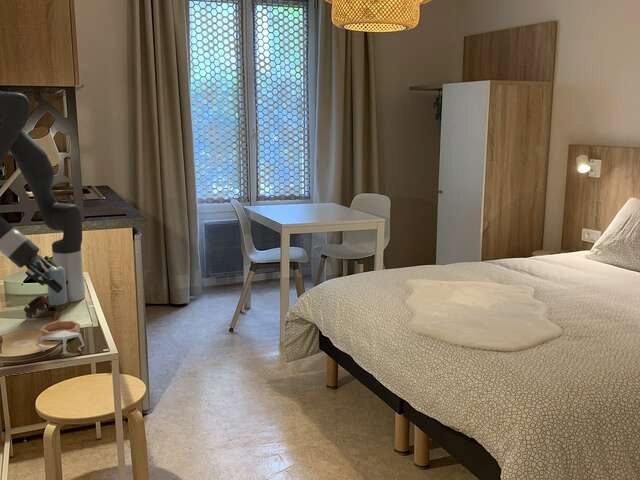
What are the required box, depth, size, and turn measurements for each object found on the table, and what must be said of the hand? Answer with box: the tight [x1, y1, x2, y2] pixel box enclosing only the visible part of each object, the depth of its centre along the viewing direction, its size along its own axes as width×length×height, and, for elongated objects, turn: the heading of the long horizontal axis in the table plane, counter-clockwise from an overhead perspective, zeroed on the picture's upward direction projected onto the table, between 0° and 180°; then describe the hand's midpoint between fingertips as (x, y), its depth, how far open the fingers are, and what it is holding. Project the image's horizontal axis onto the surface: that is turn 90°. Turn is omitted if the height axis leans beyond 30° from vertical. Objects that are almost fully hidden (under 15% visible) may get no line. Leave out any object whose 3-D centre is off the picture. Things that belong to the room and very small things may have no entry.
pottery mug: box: [23, 295, 61, 321], centre depth 207 cm, size 12×10×8 cm
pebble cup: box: [46, 266, 68, 306], centre depth 189 cm, size 5×5×11 cm
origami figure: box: [35, 330, 85, 355], centre depth 181 cm, size 12×8×5 cm
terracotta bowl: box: [40, 320, 81, 340], centre depth 192 cm, size 10×10×2 cm
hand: (63, 287), depth 189 cm, fingers closed on pebble cup, 5 cm apart
